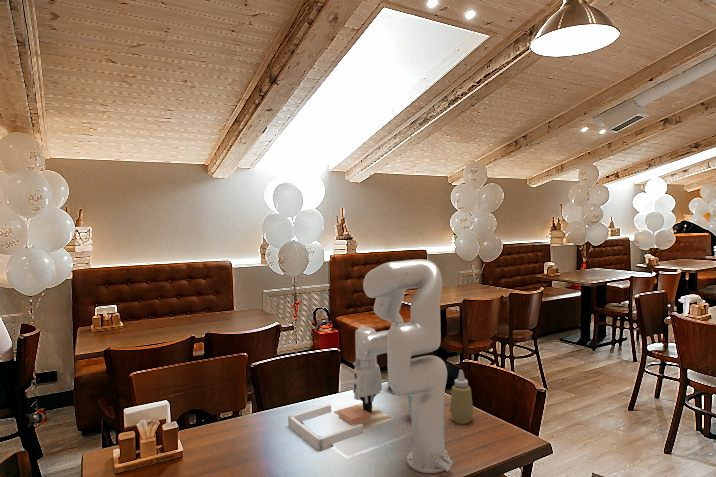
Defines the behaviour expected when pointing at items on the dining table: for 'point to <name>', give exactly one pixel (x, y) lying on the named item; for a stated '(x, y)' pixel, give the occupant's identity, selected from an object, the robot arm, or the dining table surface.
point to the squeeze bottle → (461, 400)
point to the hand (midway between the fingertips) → (367, 412)
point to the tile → (354, 415)
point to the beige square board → (371, 417)
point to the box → (314, 439)
